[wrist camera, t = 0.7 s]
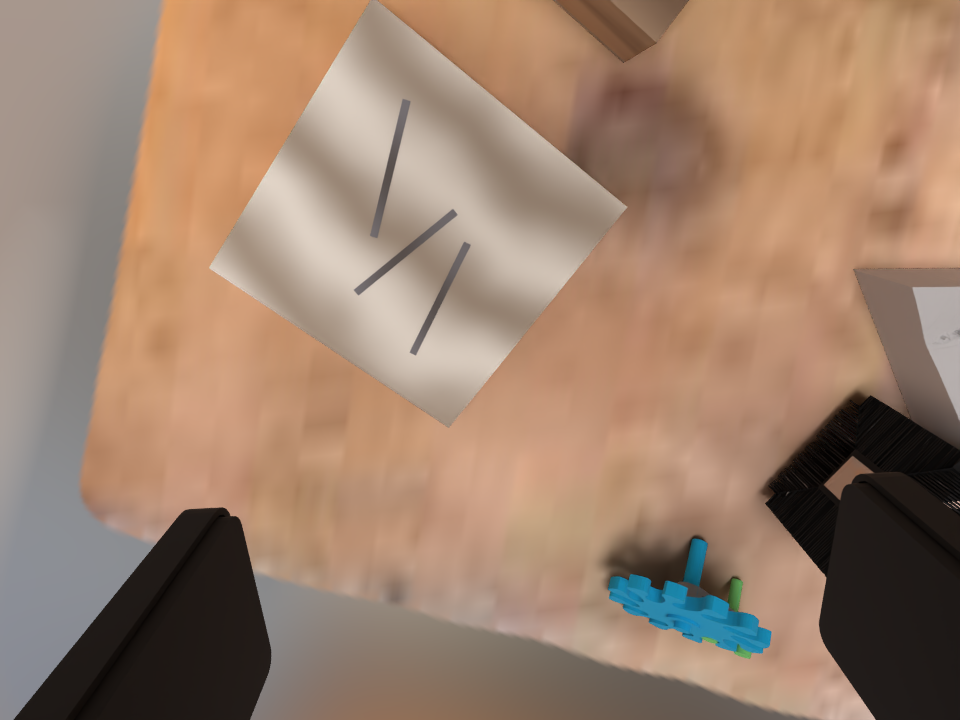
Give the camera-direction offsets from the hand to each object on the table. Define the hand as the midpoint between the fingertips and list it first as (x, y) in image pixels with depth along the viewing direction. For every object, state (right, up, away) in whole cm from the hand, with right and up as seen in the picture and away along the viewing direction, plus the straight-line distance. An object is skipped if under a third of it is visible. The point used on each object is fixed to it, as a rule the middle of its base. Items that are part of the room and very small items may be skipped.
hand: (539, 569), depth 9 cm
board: (-4, +10, +24) cm, 27 cm away
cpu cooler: (+22, -3, +29) cm, 37 cm away
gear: (+13, -12, +33) cm, 37 cm away
